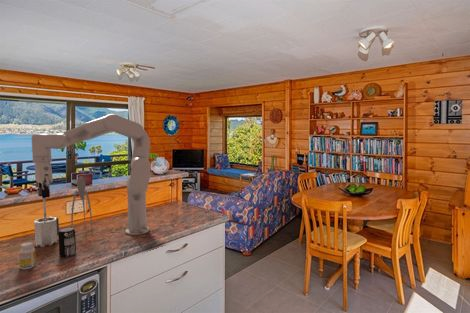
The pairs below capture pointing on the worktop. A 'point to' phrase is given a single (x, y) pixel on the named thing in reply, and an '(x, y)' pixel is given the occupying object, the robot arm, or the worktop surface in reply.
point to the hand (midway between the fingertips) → (44, 196)
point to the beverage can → (67, 242)
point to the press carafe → (46, 231)
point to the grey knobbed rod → (44, 206)
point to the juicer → (81, 193)
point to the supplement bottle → (27, 256)
